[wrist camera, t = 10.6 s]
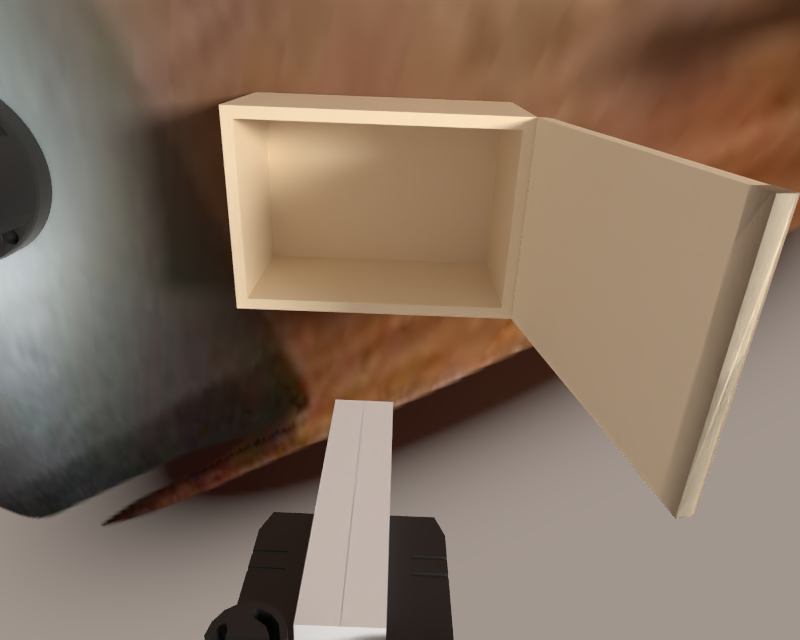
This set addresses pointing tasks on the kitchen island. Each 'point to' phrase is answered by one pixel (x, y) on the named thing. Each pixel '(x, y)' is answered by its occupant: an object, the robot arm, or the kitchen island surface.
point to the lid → (646, 292)
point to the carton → (376, 203)
